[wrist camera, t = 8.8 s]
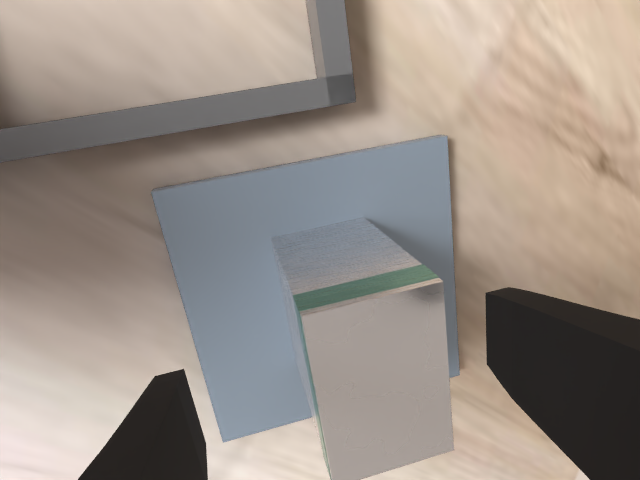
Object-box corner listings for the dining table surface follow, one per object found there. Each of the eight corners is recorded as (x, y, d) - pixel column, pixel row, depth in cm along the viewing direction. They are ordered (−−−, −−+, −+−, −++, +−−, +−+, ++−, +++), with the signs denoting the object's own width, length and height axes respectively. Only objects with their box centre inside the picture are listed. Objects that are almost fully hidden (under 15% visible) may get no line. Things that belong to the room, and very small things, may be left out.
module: (295, 361, 20) (333, 488, 13) (269, 237, 18) (300, 316, 11) (379, 339, 21) (454, 450, 14) (364, 216, 19) (443, 280, 12)
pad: (222, 433, 21) (222, 442, 20) (153, 189, 17) (151, 192, 16) (453, 368, 23) (459, 375, 22) (440, 134, 19) (447, 136, 18)
